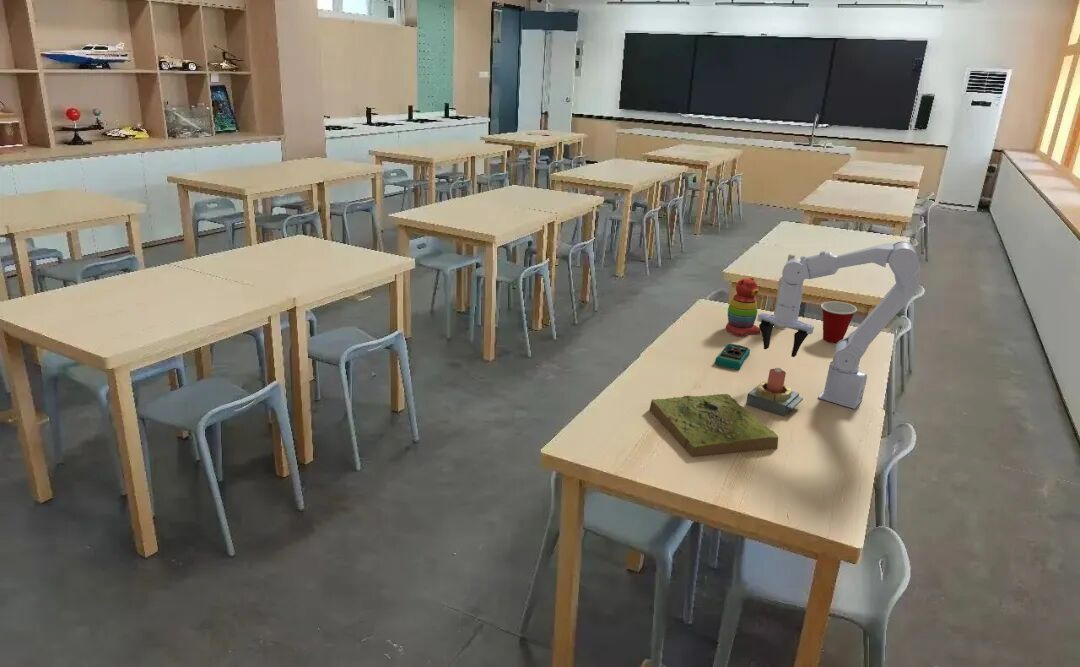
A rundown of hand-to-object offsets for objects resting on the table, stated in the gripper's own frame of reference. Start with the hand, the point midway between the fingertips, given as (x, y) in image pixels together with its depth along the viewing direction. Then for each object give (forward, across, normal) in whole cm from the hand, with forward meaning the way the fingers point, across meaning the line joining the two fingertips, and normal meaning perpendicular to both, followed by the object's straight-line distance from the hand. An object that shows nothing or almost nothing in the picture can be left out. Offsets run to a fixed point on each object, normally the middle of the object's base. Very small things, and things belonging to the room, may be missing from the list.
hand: (779, 352), depth 197 cm
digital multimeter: (+11, -16, +10) cm, 22 cm away
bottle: (+10, -17, +50) cm, 54 cm away
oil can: (+7, +4, -12) cm, 14 cm away
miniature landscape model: (+11, -2, -36) cm, 38 cm away
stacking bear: (+10, -25, +36) cm, 45 cm away
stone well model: (+10, +4, -12) cm, 16 cm away
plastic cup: (+10, +1, +49) cm, 50 cm away
